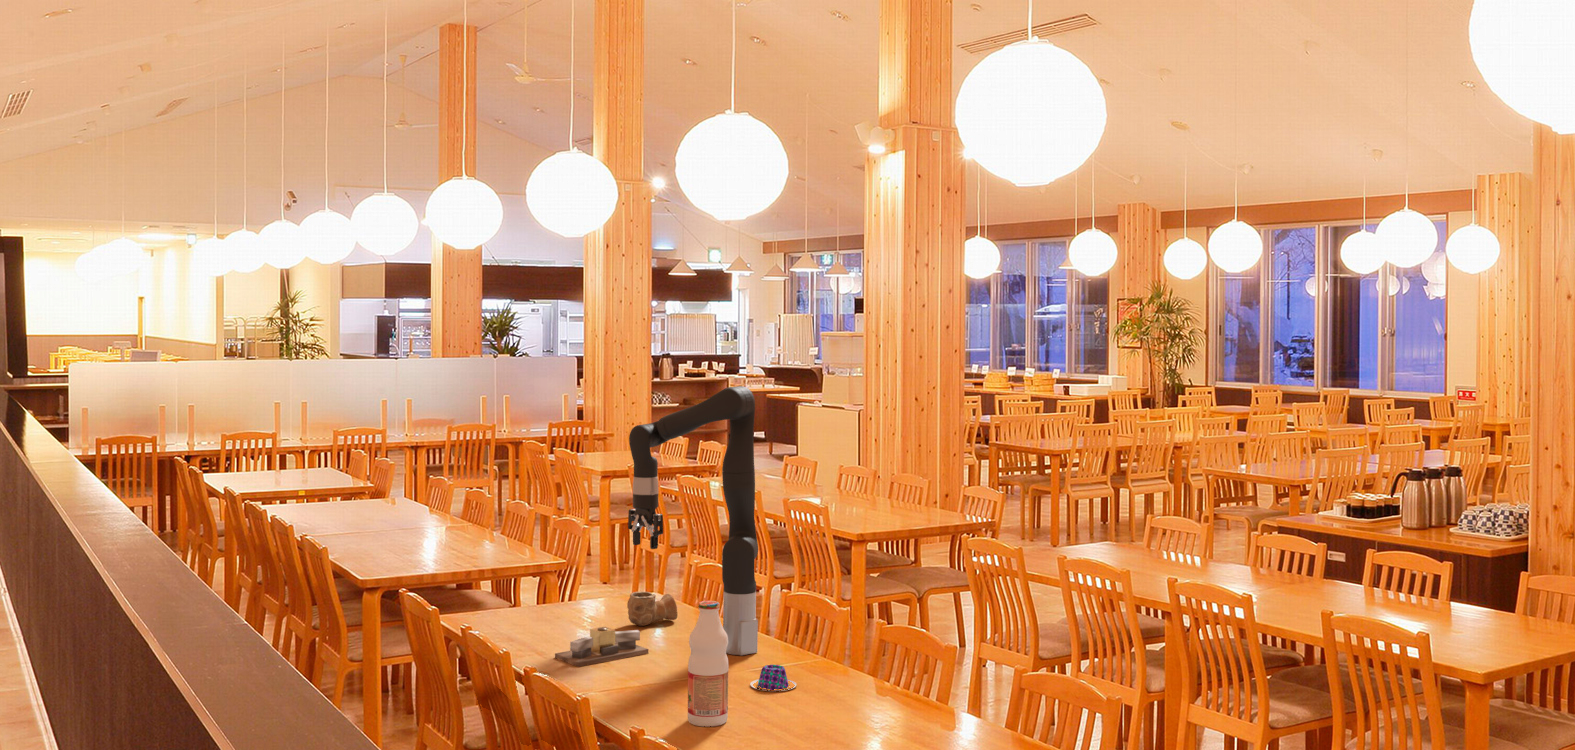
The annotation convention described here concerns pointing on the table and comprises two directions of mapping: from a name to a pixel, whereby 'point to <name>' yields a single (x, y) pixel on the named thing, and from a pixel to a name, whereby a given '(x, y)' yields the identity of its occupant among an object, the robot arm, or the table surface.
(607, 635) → the tan knob block
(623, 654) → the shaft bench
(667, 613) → the pipe
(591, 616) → the table surface
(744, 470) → the robot arm
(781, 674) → the pudding
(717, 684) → the fruit juice
